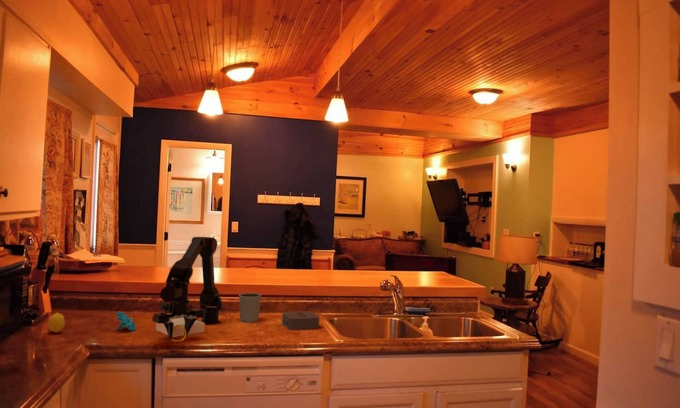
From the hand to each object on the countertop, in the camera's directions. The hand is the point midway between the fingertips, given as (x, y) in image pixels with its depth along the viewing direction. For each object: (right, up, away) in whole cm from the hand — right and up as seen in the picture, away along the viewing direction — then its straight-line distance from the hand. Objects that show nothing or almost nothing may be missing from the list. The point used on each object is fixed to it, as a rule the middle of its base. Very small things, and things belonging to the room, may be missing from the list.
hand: (177, 337), depth 184 cm
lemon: (-49, +1, +3) cm, 49 cm away
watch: (0, -1, 0) cm, 1 cm away
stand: (-4, -1, +15) cm, 15 cm away
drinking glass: (+20, -3, +39) cm, 44 cm away
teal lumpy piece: (-26, -1, +13) cm, 29 cm away
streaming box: (+44, -4, +34) cm, 56 cm away
